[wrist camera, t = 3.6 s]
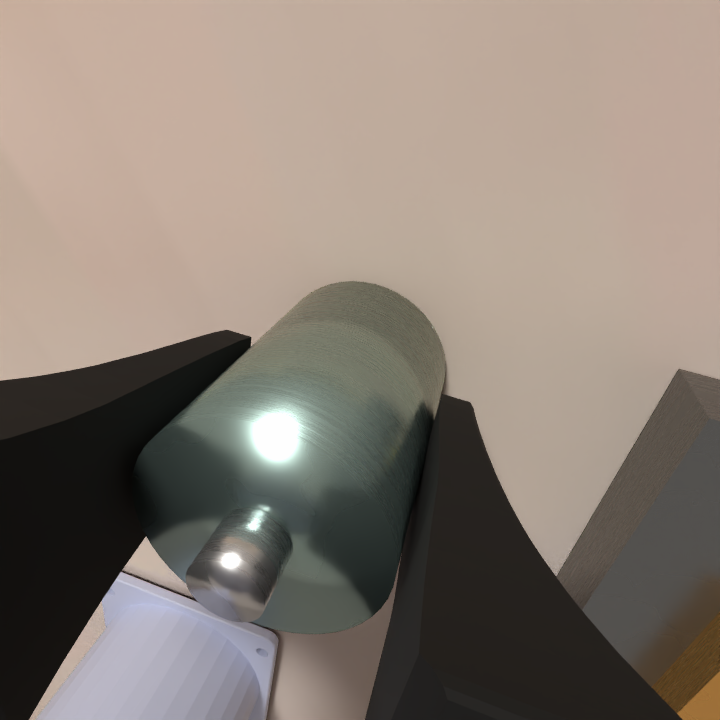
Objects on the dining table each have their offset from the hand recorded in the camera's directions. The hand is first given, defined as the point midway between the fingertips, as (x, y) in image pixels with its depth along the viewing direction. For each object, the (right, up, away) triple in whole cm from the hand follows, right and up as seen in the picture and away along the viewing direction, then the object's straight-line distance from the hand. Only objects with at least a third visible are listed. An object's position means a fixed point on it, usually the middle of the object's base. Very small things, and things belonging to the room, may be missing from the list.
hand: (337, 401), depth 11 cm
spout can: (0, +1, +2) cm, 2 cm away
